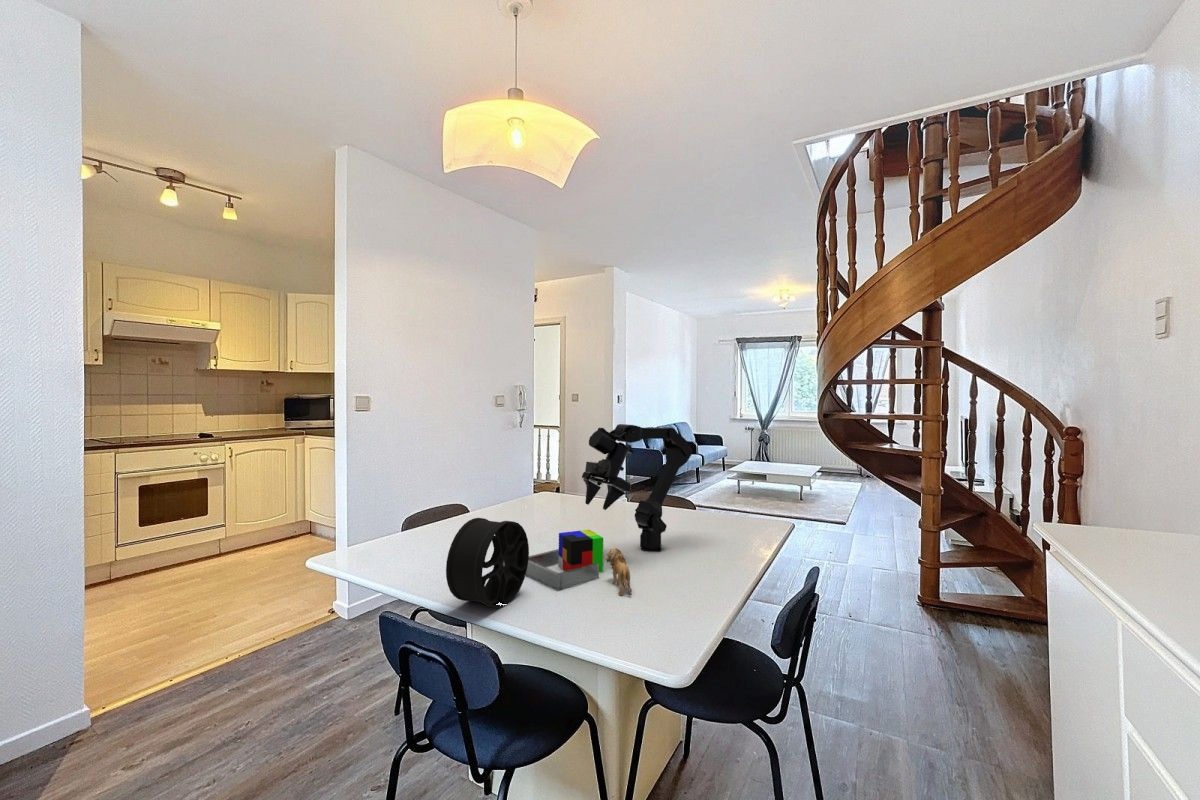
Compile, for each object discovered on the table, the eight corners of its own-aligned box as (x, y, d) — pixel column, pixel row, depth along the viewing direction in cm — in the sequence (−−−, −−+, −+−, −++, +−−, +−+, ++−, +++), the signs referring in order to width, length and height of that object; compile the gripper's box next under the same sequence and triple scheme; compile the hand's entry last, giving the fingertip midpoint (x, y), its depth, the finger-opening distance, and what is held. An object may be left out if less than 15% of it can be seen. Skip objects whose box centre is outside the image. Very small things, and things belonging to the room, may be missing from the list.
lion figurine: (602, 579, 140) (602, 546, 140) (620, 577, 142) (620, 545, 142) (622, 599, 126) (622, 563, 126) (641, 596, 128) (641, 561, 128)
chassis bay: (558, 561, 154) (558, 548, 154) (598, 578, 141) (598, 563, 141) (519, 572, 145) (519, 558, 145) (558, 590, 131) (558, 575, 131)
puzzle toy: (558, 566, 150) (558, 532, 150) (589, 561, 155) (589, 529, 155) (570, 577, 141) (571, 541, 141) (603, 572, 146) (603, 537, 146)
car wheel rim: (481, 621, 113) (481, 532, 113) (445, 613, 117) (445, 527, 117) (528, 590, 131) (529, 513, 131) (496, 584, 135) (496, 510, 135)
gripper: (579, 447, 163) (559, 492, 158) (614, 452, 148) (594, 502, 143) (603, 461, 169) (585, 505, 164) (640, 467, 153) (620, 516, 149)
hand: (595, 506), depth 155 cm, fingers open, 9 cm apart
